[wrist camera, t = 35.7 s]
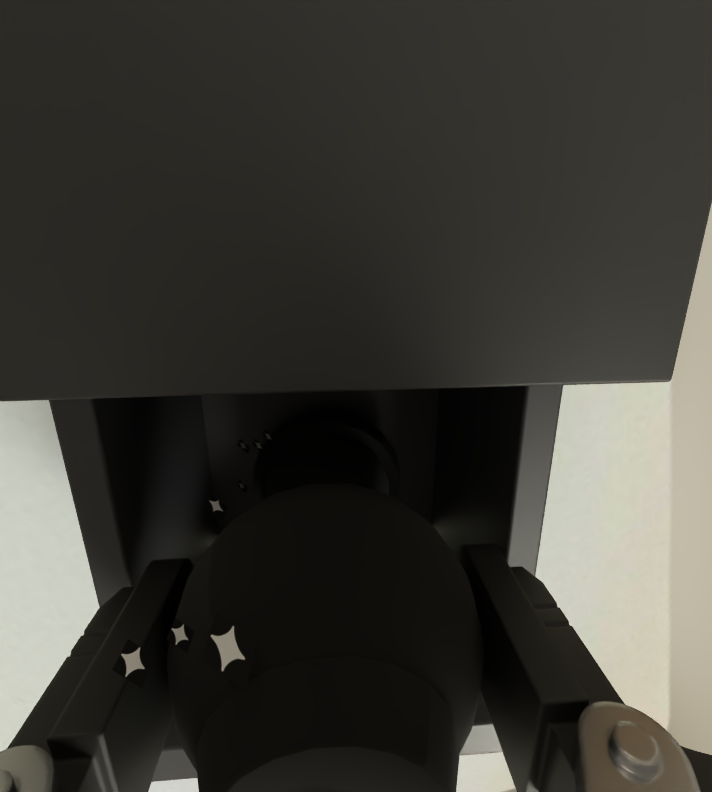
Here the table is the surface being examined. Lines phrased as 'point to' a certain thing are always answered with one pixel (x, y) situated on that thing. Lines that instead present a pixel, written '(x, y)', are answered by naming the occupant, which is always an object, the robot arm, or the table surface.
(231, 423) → the open grey drawer
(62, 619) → the table surface
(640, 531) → the table surface
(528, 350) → the grey drawer cabinet
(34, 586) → the table surface
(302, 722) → the gumball machine
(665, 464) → the table surface
